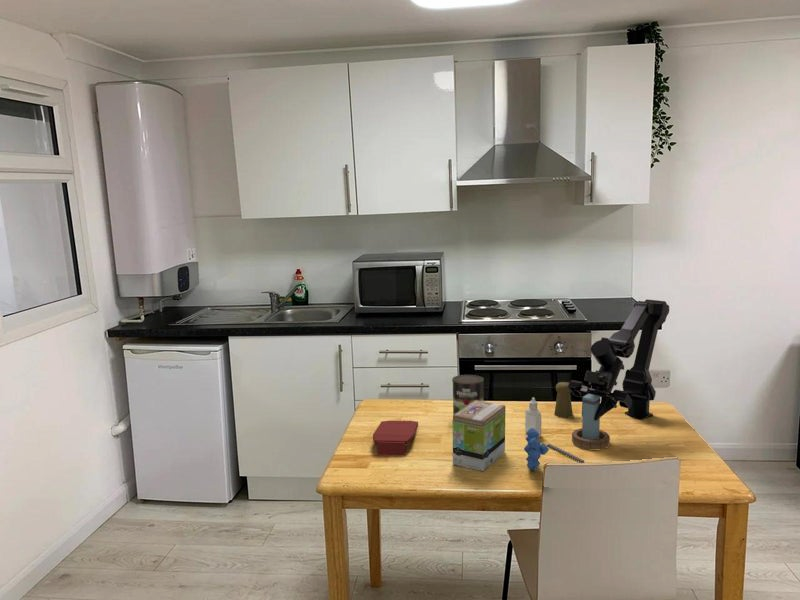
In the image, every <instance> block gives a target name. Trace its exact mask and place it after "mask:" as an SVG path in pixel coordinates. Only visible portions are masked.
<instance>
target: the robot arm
mask: <svg viewBox="0 0 800 600" xmlns="http://www.w3.org/2000/svg"><path fill="white" fill-rule="evenodd" d="M669 313H670V305H669V304H668V303H667V301H665V300H657V299H649V298H648V299H645V300H644V301H643V300H642V301H641V300H638V301H635V302H634V305H633V309H632V310H631V312H630V314H629V316H628V317H627V318H626V320H625V322H624V323H623V324H622V326H621V328H620V329H619V331H616V332H614V333H612V334H611V336H610V337H609V338H608V337H601V339H600V340H597V341H595V342H593V344H592V345H591V346H590V352H591V354H592V356H593V357H594V359H595V361H596V362H597V364H599V365H600V366H599V369H598V370H595V371H592V370H586V371H585V375H584V379H583V381H585V382H588V386H586V385H585V383H584V382H583V381H579V380H575V379H574V380H573V379H572V380H570V381H569V382H568V383H569V384H568V386H567V387H568V388H569V390H570V391H571V394H572V395H573V396H575V397H577V398H581V400H582V399H583V396H586V395H588V394H592V395H596V396H600V405H599V407H598V409H597V411H596V414H595V417H594V420H595V421H597V420H598V419H599V418H600V419H601V417H603V416H604V415H605V414H607V412H610V411H611V410H613V409H616V408H618V406H617V404H618V405H619V406H620V407H621V408H624V409H627V411H625V412H624V414H625V415H627V416H630V417H633V418H635V419H638V420H642V419H646V418H648V417H652V416H654V414H653V413H652V412H650V402H651V401H654V400H655V397H656V393H657V391H656V390H655V387H654V386H653V384H652V381H653V378H652V376H651V373H650V371H649V370H650V366H651V362H652V356H653V352H654V347H655V344H656V339H657V335H658V331H659V328H660V327H662V325H664V323H665V322H666V320H667V317H668V315H669ZM640 330H641V331H640ZM639 332H640V337H639V340H638V344H637V345H638V346H637V349H636V354H635V358H634V362H633V366H632V367H631V368H630V369H626V371H625V372H624V373H625V374H624V378H623V380H622V384H621V385H622V386H621V387H622V390H620V389H614V387H616V386H617V385H618V382H617V379H618V377H619V374H620V372H621V370H622V371H623V370H625V365H624V362H623V360H622V359H621V358H624V359H629V358H630V357H631V356H632V355H633V354H634V351H635V348H636V347H635V346H636V345H635V339H636V337H637V335H638V333H639ZM589 386H590V387H589ZM613 389H614V390H613ZM612 391H613V392H612ZM581 402H582V401H581ZM582 410H583V402H582V403H581V411H582Z"/></svg>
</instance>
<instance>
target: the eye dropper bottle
mask: <svg viewBox="0 0 800 600" xmlns="http://www.w3.org/2000/svg"><path fill="white" fill-rule="evenodd" d="M528 403H529V404H528V405H529V406H528V408H526V410H525V413H524V414H525V416H524V419H525V423H524V424H525V430H524V432H525V434H526V433H527V431H528V430H529V429H531V428H534V429H535V430H536V431H537V432H538V433H539V437H538V438H540V437H542V413H541V411H540V410H539V408H538V401H536V398H535V397H532V398H531V400H530V401H529V402H528Z"/></svg>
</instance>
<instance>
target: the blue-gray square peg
mask: <svg viewBox="0 0 800 600" xmlns="http://www.w3.org/2000/svg"><path fill="white" fill-rule="evenodd" d="M581 402H583V410H582V409H581V420H582V421H581V424H582V425H581V429H582V438H583V439H587V440H600V439H599V430H600V426H601V425H600V419H601V417H600V418H599V419H598V420H597V421H595V420H594V417H595V414H596V411H597V409H598V407H599V405H600V403H601V397H600V396H596V395H592V394H588V395H586V396H583V399H582V398H581Z"/></svg>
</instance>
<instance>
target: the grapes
mask: <svg viewBox="0 0 800 600" xmlns="http://www.w3.org/2000/svg"><path fill="white" fill-rule="evenodd" d="M525 434H526V438H525V440H526V443H527V444H526V445H525V446H524V448H523V450H524V451H525V453H526V454H527V457H526V458H525V460H526V461H527V463H526V466H527V468H529V470H531V471H535V470H537V468H538V467H539V466H540V464H541V463H540V461H539V459H540V458H541V456H543V455H546V454H547V453H548V452H549V450H550V448H549V447H547V444H544V443H541V441H540V440H539V439H538V438H540V437H539V433H538V432H537V431H536V430H535V429H534V428H531V429H529V430H528V431H527V433H526V432H525Z"/></svg>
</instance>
